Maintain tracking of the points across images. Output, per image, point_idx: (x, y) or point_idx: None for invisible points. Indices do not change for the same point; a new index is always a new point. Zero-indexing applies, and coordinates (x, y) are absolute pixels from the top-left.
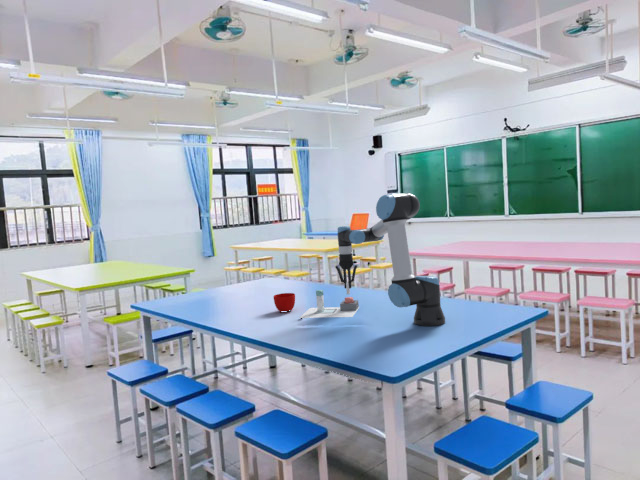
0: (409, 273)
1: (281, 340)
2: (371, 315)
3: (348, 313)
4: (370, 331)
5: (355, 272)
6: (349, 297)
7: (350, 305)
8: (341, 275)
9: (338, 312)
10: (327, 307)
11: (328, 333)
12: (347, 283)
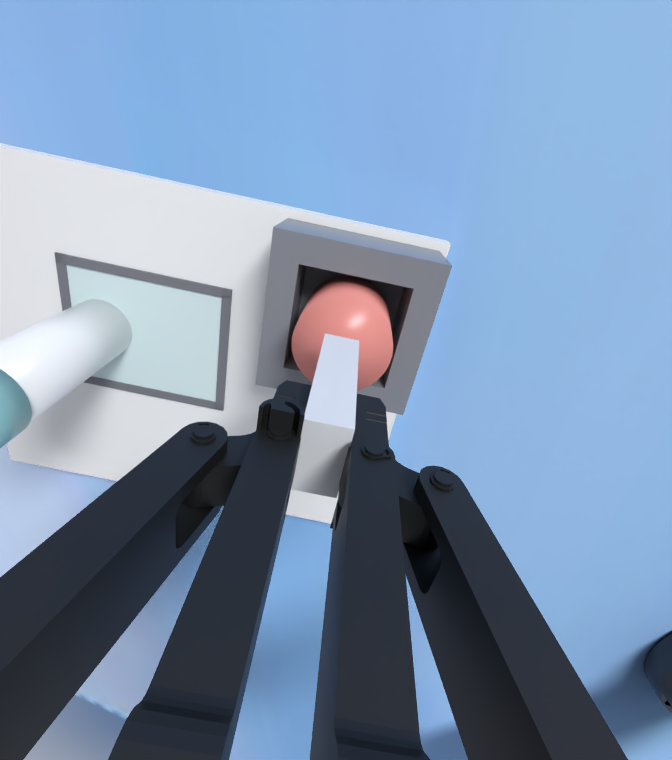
0: None
1: (92, 678)
2: (489, 476)
3: None
4: (420, 682)
5: (582, 687)
6: (349, 325)
7: None
8: (138, 588)
9: (258, 402)
10: (118, 174)
11: (251, 662)
12: (318, 492)
